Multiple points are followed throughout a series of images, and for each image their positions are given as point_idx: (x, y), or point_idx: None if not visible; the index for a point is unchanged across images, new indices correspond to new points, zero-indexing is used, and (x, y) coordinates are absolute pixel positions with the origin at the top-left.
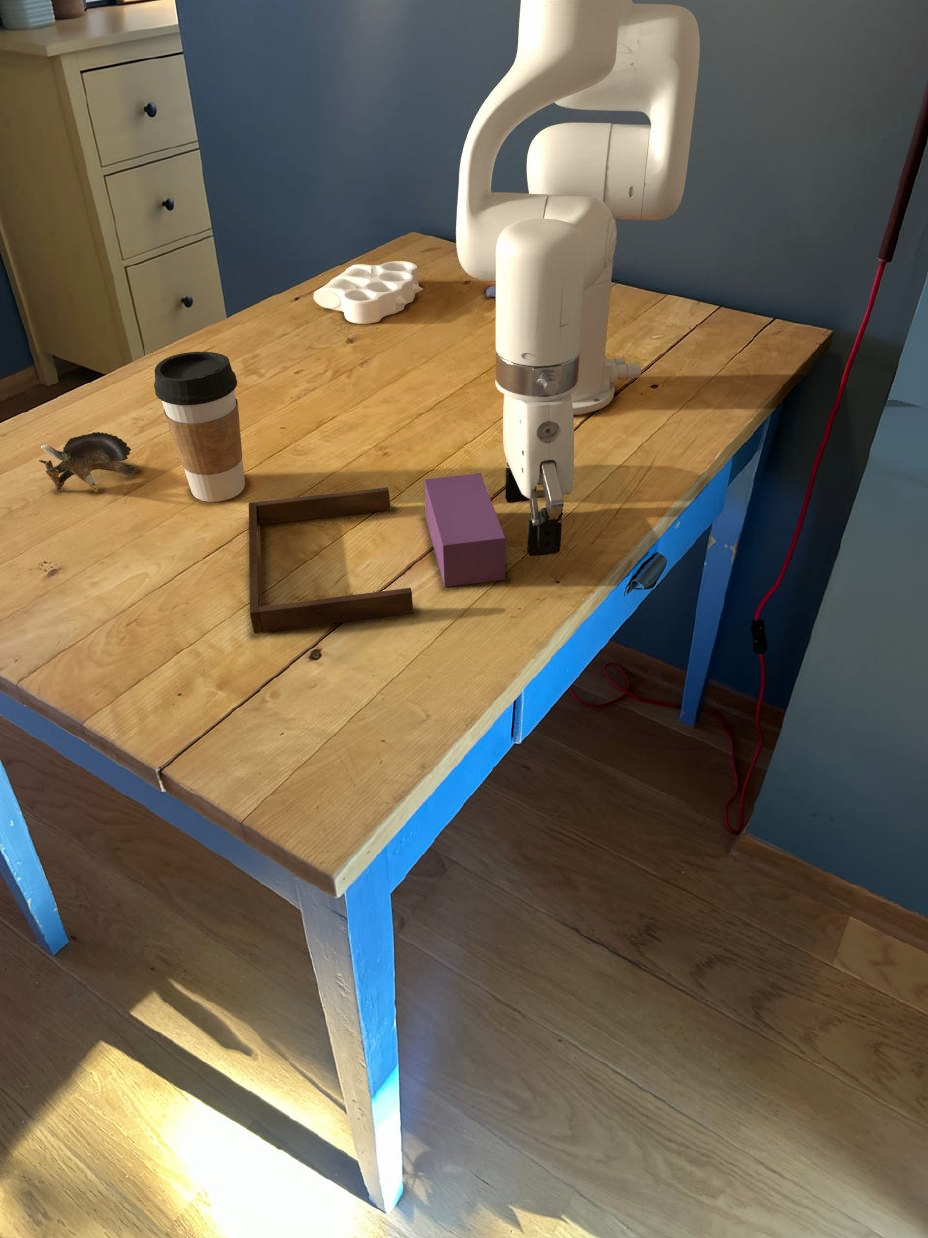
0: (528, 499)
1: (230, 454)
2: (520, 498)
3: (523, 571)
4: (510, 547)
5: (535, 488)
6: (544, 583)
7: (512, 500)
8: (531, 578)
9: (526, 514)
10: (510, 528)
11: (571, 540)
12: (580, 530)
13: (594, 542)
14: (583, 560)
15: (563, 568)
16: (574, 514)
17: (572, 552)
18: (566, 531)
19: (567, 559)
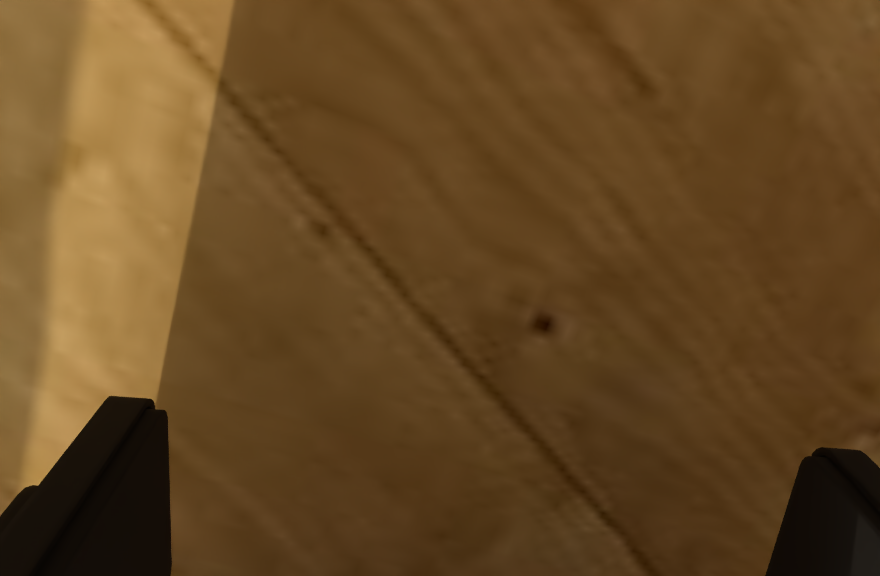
0: (163, 453)
1: None
2: (161, 518)
3: (725, 551)
4: (494, 553)
5: (133, 464)
6: None
7: (164, 561)
8: None
9: (181, 383)
10: (312, 507)
11: (556, 210)
12: (465, 106)
13: (638, 65)
14: (788, 216)
15: (802, 356)
16: (253, 70)
17: (680, 251)
18: (446, 205)
19: (733, 305)
